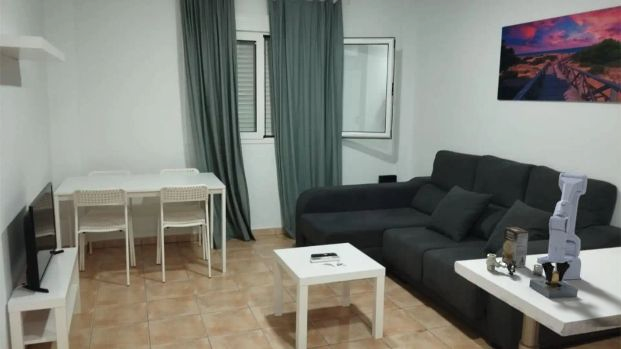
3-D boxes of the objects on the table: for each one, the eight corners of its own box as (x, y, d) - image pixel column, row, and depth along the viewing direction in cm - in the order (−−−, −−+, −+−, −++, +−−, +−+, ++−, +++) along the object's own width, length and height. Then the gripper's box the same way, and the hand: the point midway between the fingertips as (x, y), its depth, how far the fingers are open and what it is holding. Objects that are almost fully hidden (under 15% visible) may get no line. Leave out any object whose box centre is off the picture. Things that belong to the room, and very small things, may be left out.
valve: (482, 270, 220) (509, 277, 211) (483, 255, 219) (510, 262, 210) (489, 266, 225) (516, 273, 216) (490, 252, 224) (517, 259, 215)
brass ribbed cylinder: (553, 284, 199) (555, 270, 198) (560, 288, 195) (561, 273, 194) (544, 285, 198) (545, 270, 197) (550, 288, 194) (552, 273, 193)
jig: (556, 285, 203) (557, 278, 203) (577, 296, 192) (577, 289, 191) (529, 286, 201) (530, 279, 201) (548, 298, 189) (549, 290, 189)
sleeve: (538, 273, 217) (539, 264, 216) (544, 276, 214) (545, 267, 213) (531, 273, 216) (532, 264, 216) (537, 276, 213) (537, 267, 212)
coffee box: (500, 261, 233) (503, 227, 230) (512, 260, 234) (515, 226, 232) (514, 267, 224) (517, 232, 221) (526, 266, 226) (529, 231, 223)
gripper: (546, 250, 188) (543, 285, 190) (581, 249, 191) (577, 283, 193) (535, 245, 195) (531, 278, 197) (568, 244, 198) (565, 277, 200)
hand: (553, 280), depth 196 cm, fingers closed on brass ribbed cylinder, 4 cm apart
